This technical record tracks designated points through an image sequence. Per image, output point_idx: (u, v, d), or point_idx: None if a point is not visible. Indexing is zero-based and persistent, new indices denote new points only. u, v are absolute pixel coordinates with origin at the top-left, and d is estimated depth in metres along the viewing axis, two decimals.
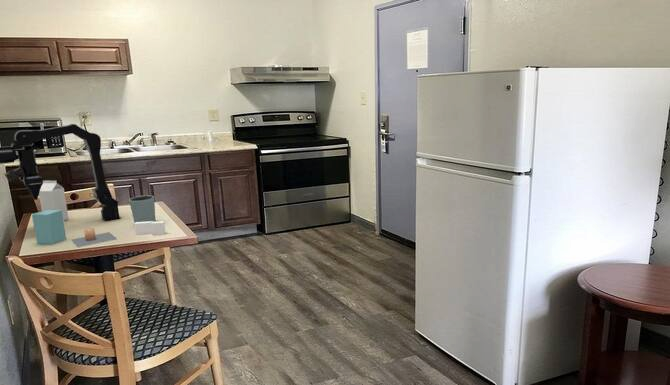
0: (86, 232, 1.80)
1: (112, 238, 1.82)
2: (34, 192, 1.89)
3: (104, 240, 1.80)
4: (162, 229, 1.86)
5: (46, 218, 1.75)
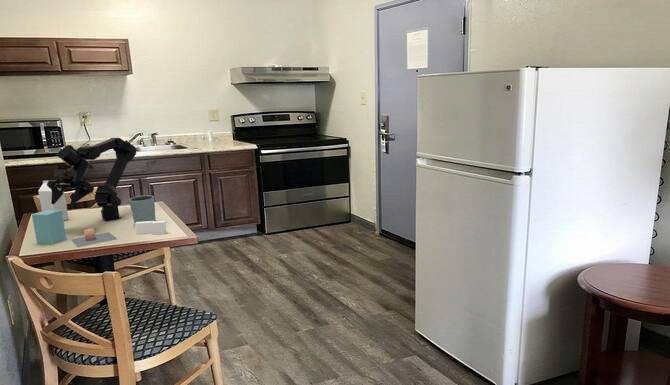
0: (86, 232, 1.80)
1: (112, 238, 1.82)
2: (76, 197, 1.87)
3: (104, 240, 1.80)
4: (163, 229, 1.86)
5: (46, 218, 1.75)
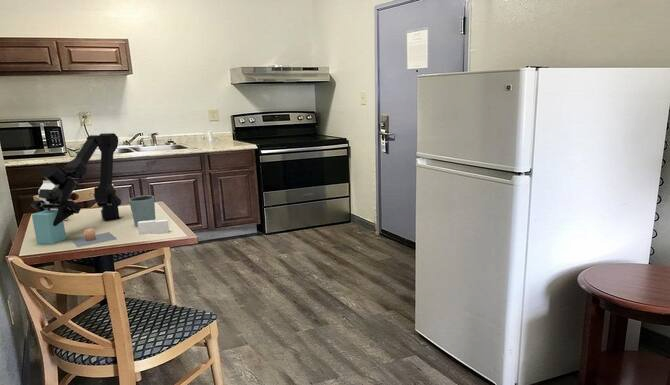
0: (86, 232, 1.80)
1: (112, 238, 1.82)
2: (59, 218, 1.79)
3: (104, 240, 1.80)
4: (167, 227, 1.88)
5: (46, 218, 1.75)
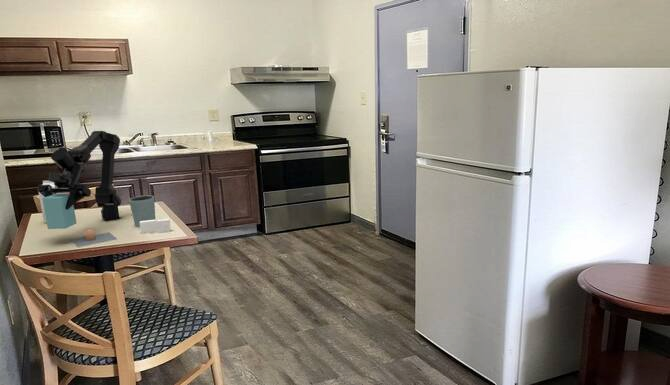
0: (86, 232, 1.80)
1: (112, 238, 1.82)
2: (71, 201, 1.78)
3: (104, 240, 1.80)
4: (169, 226, 1.90)
5: (59, 201, 1.74)
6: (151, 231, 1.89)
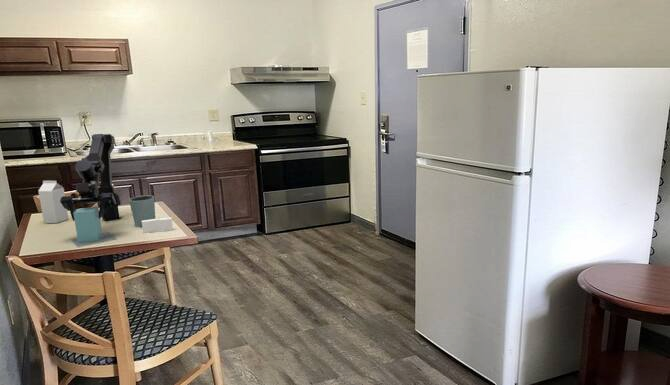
0: None
1: (112, 238, 1.82)
2: (102, 210, 1.82)
3: (104, 240, 1.80)
4: (171, 225, 1.92)
5: (92, 214, 1.77)
6: (153, 230, 1.90)
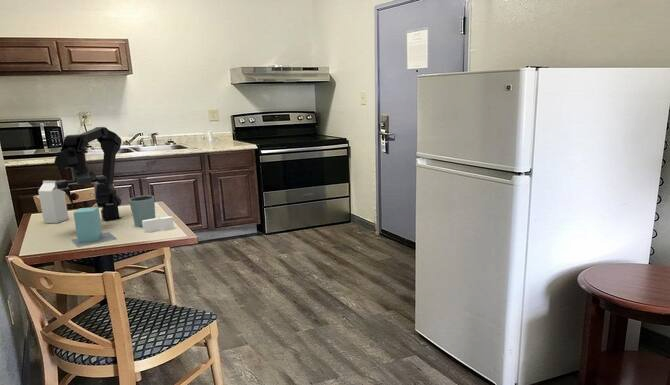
0: None
1: (112, 238, 1.82)
2: None
3: (104, 240, 1.80)
4: (172, 223, 1.94)
5: (92, 214, 1.77)
6: (154, 229, 1.91)
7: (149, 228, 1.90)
